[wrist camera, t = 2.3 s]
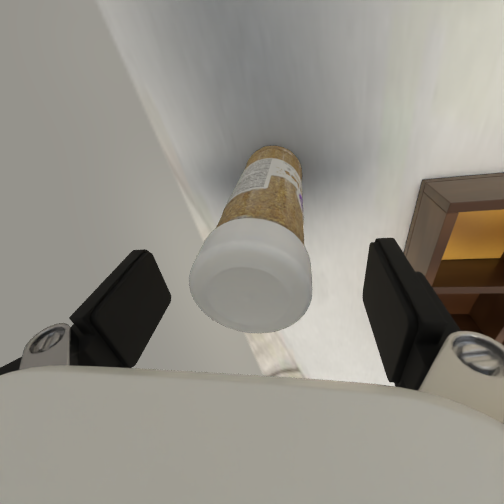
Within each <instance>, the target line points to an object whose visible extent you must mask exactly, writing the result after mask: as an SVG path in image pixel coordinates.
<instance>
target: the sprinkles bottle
mask: <svg viewBox="0 0 504 504" xmlns="http://www.w3.org/2000/svg"><path fill="white" fill-rule="evenodd" d="M301 180H302V168H301V165H300V163H299V161H298V159H297V158H296V156H295V155H294V154H293V153H292V152H291V151H290V150H288V149H286V148H283V147H279V146H266V147H263V148H261V149H259V150H257V151H256V152H255V153H254V154H253V155H252V156H251V157H250V158H249V160H248V162H247V165H246V168H245V170H244V172H243V173H242V175H241V177H240V179H239V181H238V183H237V185H236V187H235V189H234V191H233V193H232V194H231V196H230V198H229V200H228V202H227V204H226V206H225V208H224V211H223V214H222V217H221V219H220V221H219V223H218V225H217V227H216V228H215V229H214V230H213V231H212V232H211V233H210V234H209V236H208V237H207V238H206V240H205V241H204V243H203V245H202V247H201V249H200V251H199V253H198V255H197V257H196V259H195V261H194V263H193V265H192V268H191V271H190V275H189V286H190V291H191V294H192V297H193V299H194V300H195V302H196V304H197V305H198V306H199V308H200V309H201V310H202V311H203V312H204V313H205V314H206V315H207V316H208V317H210V318H211V319H213V320H214V321H216V322H217V323H219V324H221V325H223V326H225V327H228V328H231V329H234V330H237V331H241V332H247V333H269V332H275V331H279V330H282V329H284V328H287V327H289V326H291V325H292V324H294V323H296V322H297V321H298V320H299V319H300V318H301V317H302V316H303V315H304V314H305V312H306V311H307V309H308V307H309V305H310V302H311V299H312V273H311V263H310V258H309V255H308V252H307V250H306V248H305V246H304V233H303V224H304V216H303V199H302V184H301Z"/></svg>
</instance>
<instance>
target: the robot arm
mask: <svg viewBox="0 0 504 504" xmlns="http://www.w3.org/2000/svg"><path fill="white" fill-rule="evenodd" d="M170 301H171V294H170V292H169V290H168V288H167V285H166V283H165V281H164V279H163V277H162V274H161V272H160V270H159V268H158V265H157V263H156V261H155V259H154V257H153V255H152V253H150V252H149V251H147V250H133V251H132V252H131V253H130V254H129V255H128V256H127V257H126V258H125V259H124V260H123V261H122V263H120V265H119V266H118V267H117V268H116V269H115V270H114V271H113V272H112V273H111V274H110V275H109V276H108V277H107V278H106V279H105V280H104V281H103V283H102V284H101V285H100V286H99V287H98V288H97V289H96V290H95V291H94V292H93V293H92V294H91V295H90V296H89V297H88V298H87V300H86V301H85V302H84V303H83V304H82V305H81V306H80V307H79V308H78V309H77V310H76V311H75V312H74V313H73V314H72V315H71V316H70V320H71V321H72V322H73V323H74V324H73V325H72V327H70V326H69V325H67V324H65V323H59V324H55V325H52V326H50V327H47V328H46V329H44V330H42V331H40V332H39V333H38V334H36V335H35V336H34V337H33V338H32V339H31V340H30V341H29V342H28V343H27V344H26V346H25V348H24V351H23V355H22V357H21V358H18V359H16V360H15V361H13V362H11V363H9V364H7V365H5V366H3V367H1V368H0V504H504V345H502V344H501V343H500V342H498V341H496V340H494V339H492V338H490V337H488V336H486V335H483V334H480V333H477V332H471V331H461V330H460V328H459V327H458V325H457V324H456V322H455V321H454V319H453V318H452V316H451V315H450V313H449V312H448V310H447V309H446V307H445V306H444V304H443V303H442V301H441V300H440V298H439V297H438V295H437V294H436V292H435V291H434V289H433V288H432V286H431V285H430V283H429V282H428V280H427V279H426V277H425V276H424V275H423V274H422V273H421V272H419V271H414V269H413V267H412V266H411V264H410V263H409V261H408V260H407V258H406V256H405V255H404V253H403V252H402V250H401V249H400V247H399V245H398V244H397V242H396V241H395V239H394V238H378V239H376V240H375V242H372V243H370V247H369V253H368V260H367V267H366V274H365V281H364V288H363V302H364V305H365V309H366V312H367V315H368V318H369V321H370V324H371V328H372V331H373V334H374V337H375V340H376V344H377V347H378V350H379V353H380V356H381V359H382V363H383V366H384V369H385V372H386V375H387V378H388V380H389V382H394V383H395V386H396V387H394V386H386V385H378V384H370V383H358V382H345V381H333V380H320V379H306V378H290V377H274V376H258V375H243V374H226V373H208V372H192V371H175V370H156V369H137V368H132V367H133V366H135V365H136V363H137V361H138V360H139V358H140V356H141V354H142V352H143V351H144V349H145V347H146V345H147V343H148V342H149V340H150V338H151V336H152V334H153V333H154V331H155V329H156V327H157V325H158V324H159V322H160V320H161V318H162V316H163V314H164V313H165V311H166V309H167V307H168V306H169V304H170Z"/></svg>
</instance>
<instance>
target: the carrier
mask: <svg viewBox="0 0 504 504" xmlns="http://www.w3.org/2000/svg"><path fill="white" fill-rule="evenodd" d="M404 255H405V256H406V258H407V260H408V261H409V263H410V264H411V266H412V267H413V269H414V271H419V272H421V273H422V274H423V275H424V276H425V277H426V279H427V280H428V282H429V283H430V285H431V286H432V288H433V289H434V291H435V292H436V294H437V295H438V297H439V298H440V300H441V301H442V303H443V304H444V306H445V307H446V309H447V310H448V312H449V313H450V315H451V316H452V318H453V319H454V321H455V322H456V324H457V325H458V327H459V328H460V330H461V331H471V332H477V333H480V334H483V335H486V336H488V337H490V338H492V339H494V340H496V341H498V342H500V343H501V344H502V345H504V173H495V174H484V175H472V176H461V177H450V178H438V179H427V180H422V184H421V188H420V192H419V196H418V200H417V203H416V207H415V211H414V215H413V219H412V223H411V227H410V231H409V235H408V239H407V243H406V247H405V250H404Z"/></svg>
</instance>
